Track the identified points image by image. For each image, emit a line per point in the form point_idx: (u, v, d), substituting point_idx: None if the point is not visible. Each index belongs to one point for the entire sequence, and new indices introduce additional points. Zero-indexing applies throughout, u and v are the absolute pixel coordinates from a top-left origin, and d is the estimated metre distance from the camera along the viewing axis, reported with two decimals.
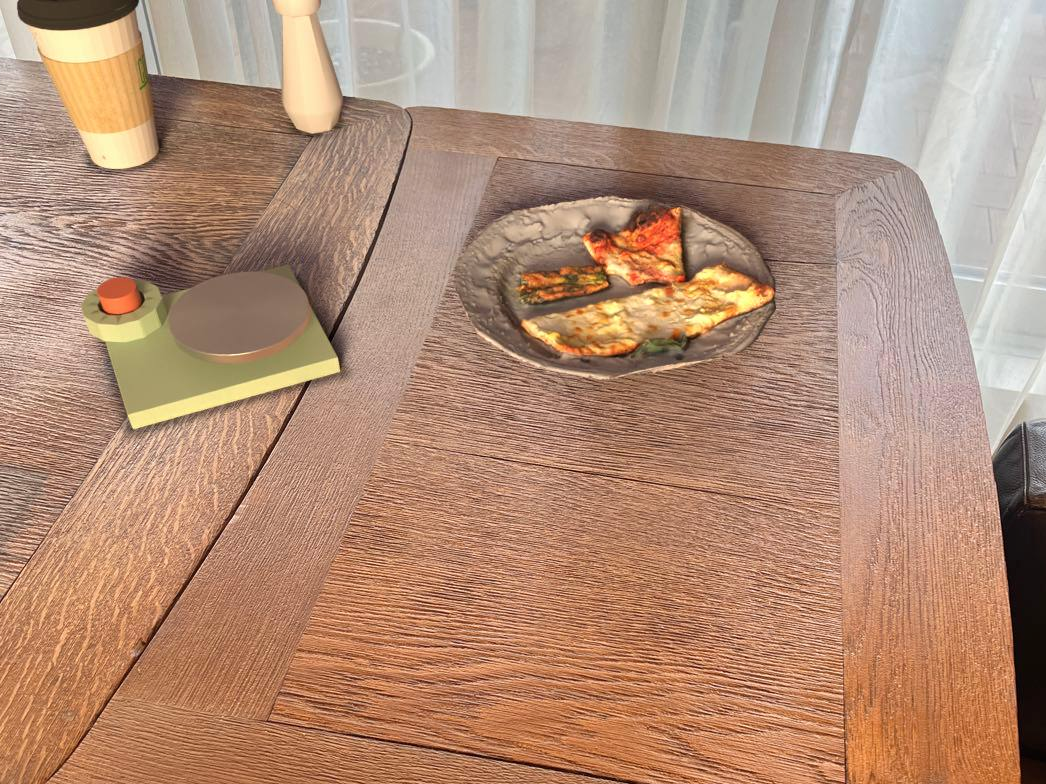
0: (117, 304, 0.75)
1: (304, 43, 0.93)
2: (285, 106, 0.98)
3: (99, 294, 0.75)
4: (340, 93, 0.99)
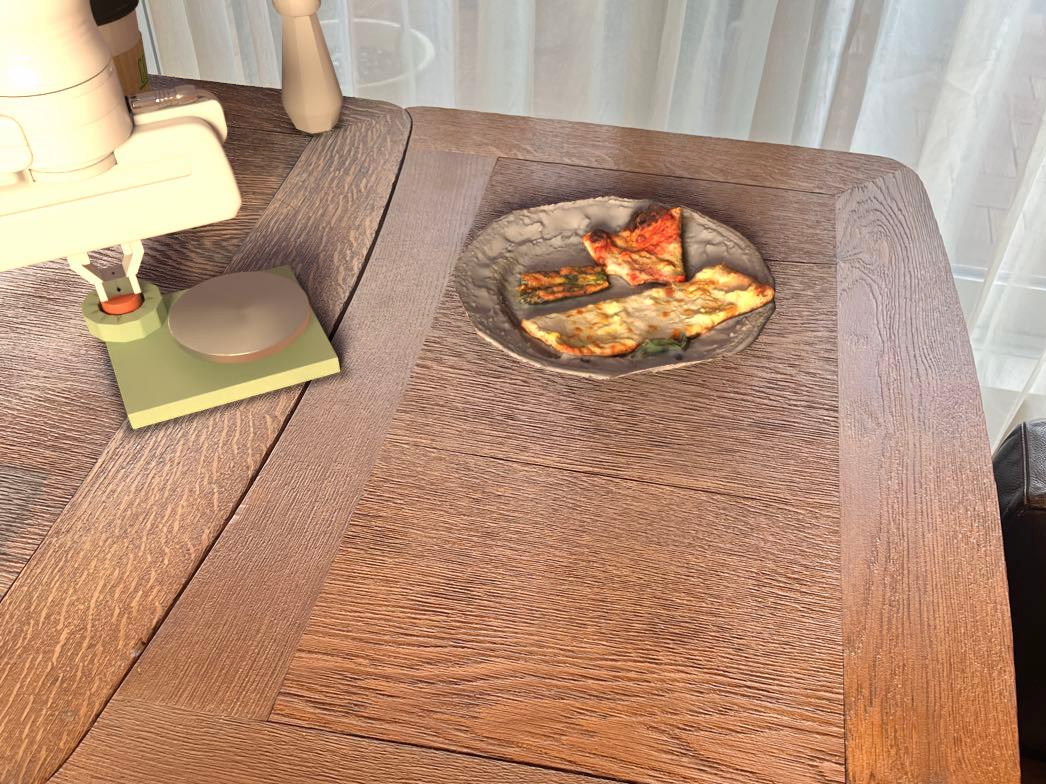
0: (119, 310, 0.75)
1: (304, 43, 0.93)
2: (285, 106, 0.98)
3: None
4: (340, 93, 0.99)
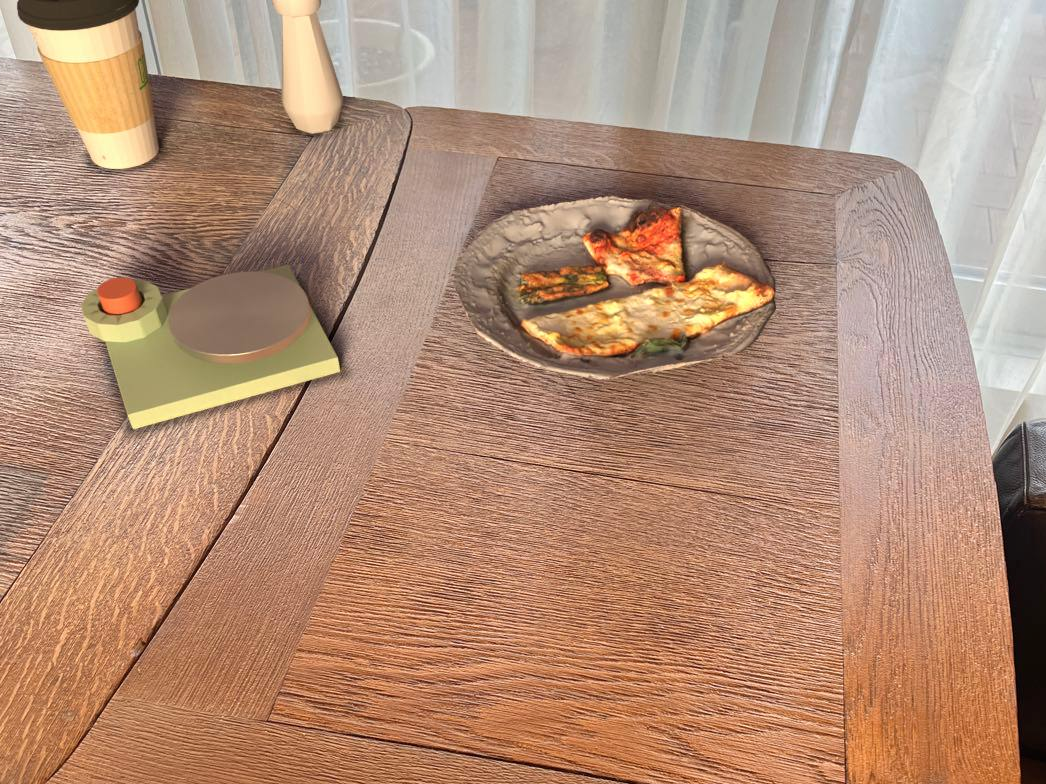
0: (117, 304, 0.75)
1: (304, 43, 0.93)
2: (285, 106, 0.98)
3: (99, 294, 0.75)
4: (340, 93, 0.99)
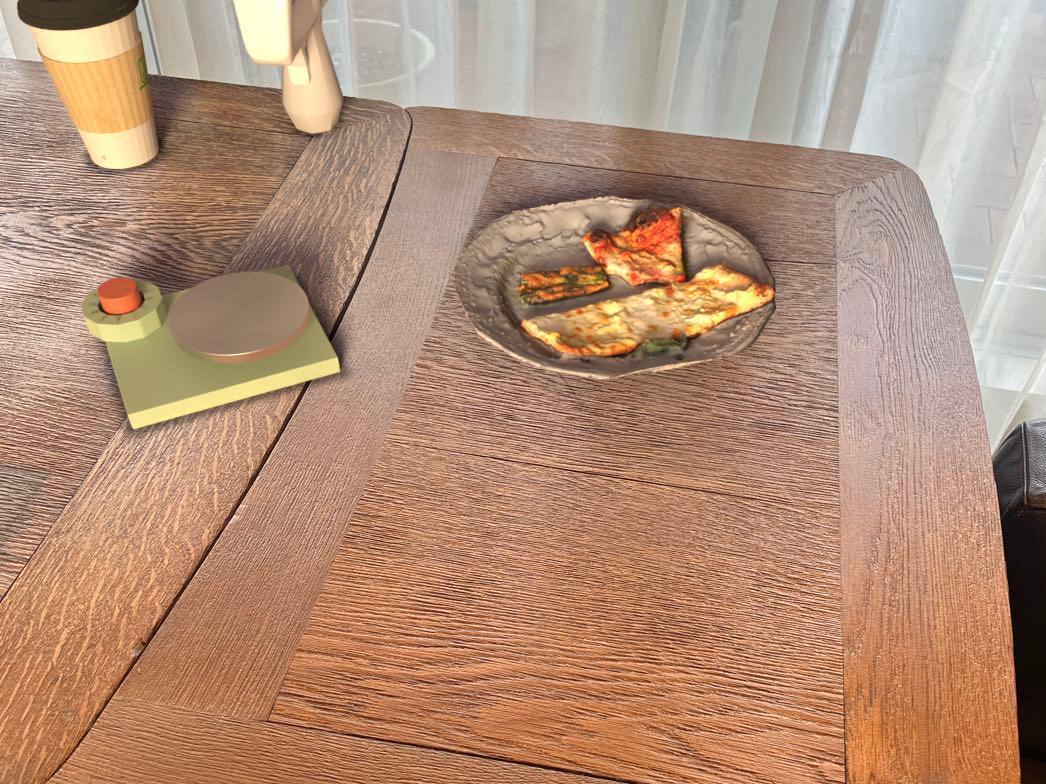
0: (117, 304, 0.75)
1: None
2: (285, 106, 0.98)
3: (99, 294, 0.75)
4: (340, 93, 0.99)
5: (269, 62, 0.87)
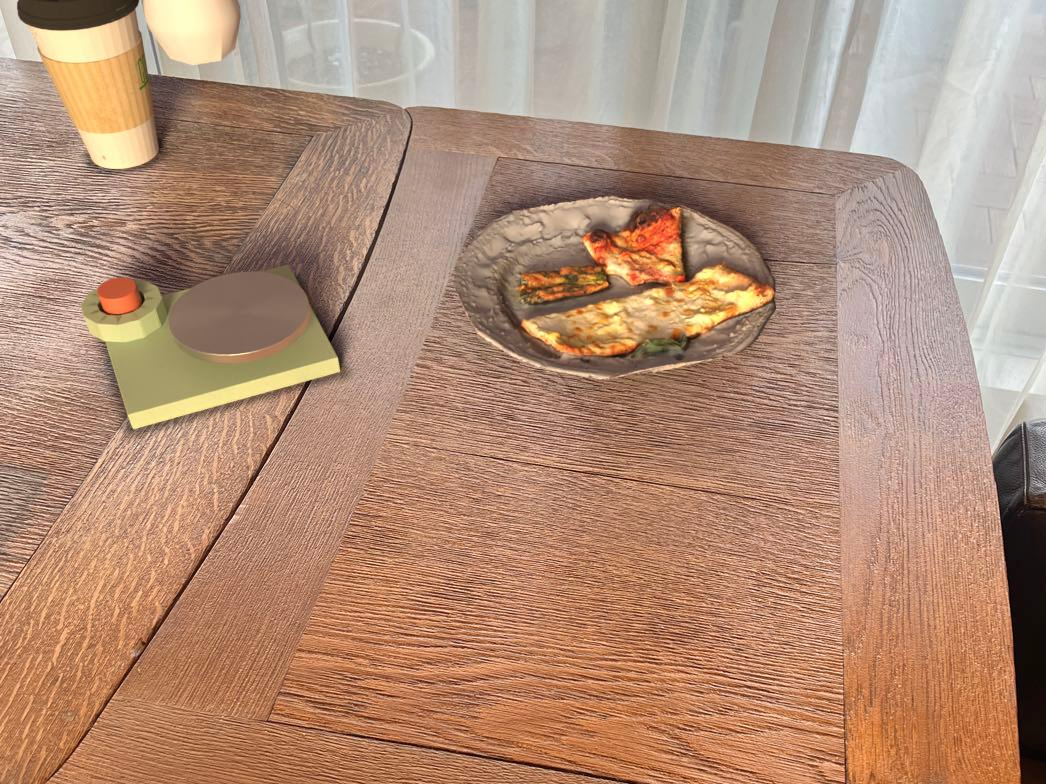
0: (117, 304, 0.75)
1: None
2: (147, 21, 0.63)
3: (99, 294, 0.75)
4: (235, 1, 0.63)
5: None
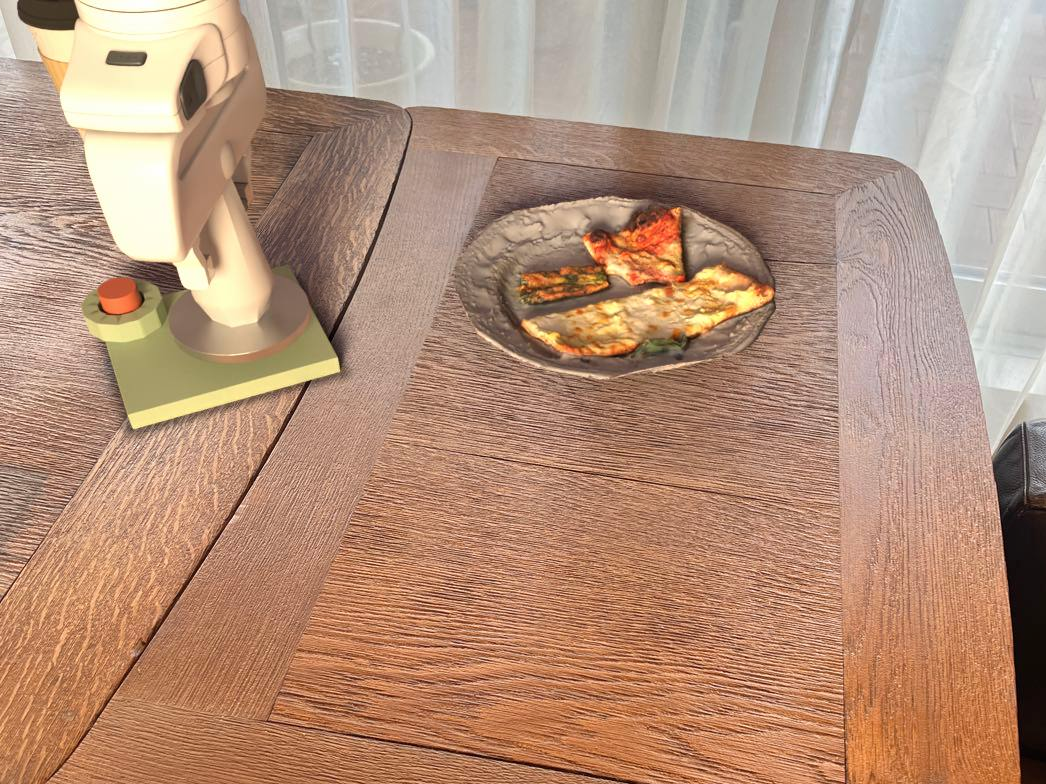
0: (117, 304, 0.75)
1: (214, 220, 0.67)
2: (193, 295, 0.71)
3: (99, 294, 0.75)
4: (270, 274, 0.72)
5: (151, 260, 0.60)
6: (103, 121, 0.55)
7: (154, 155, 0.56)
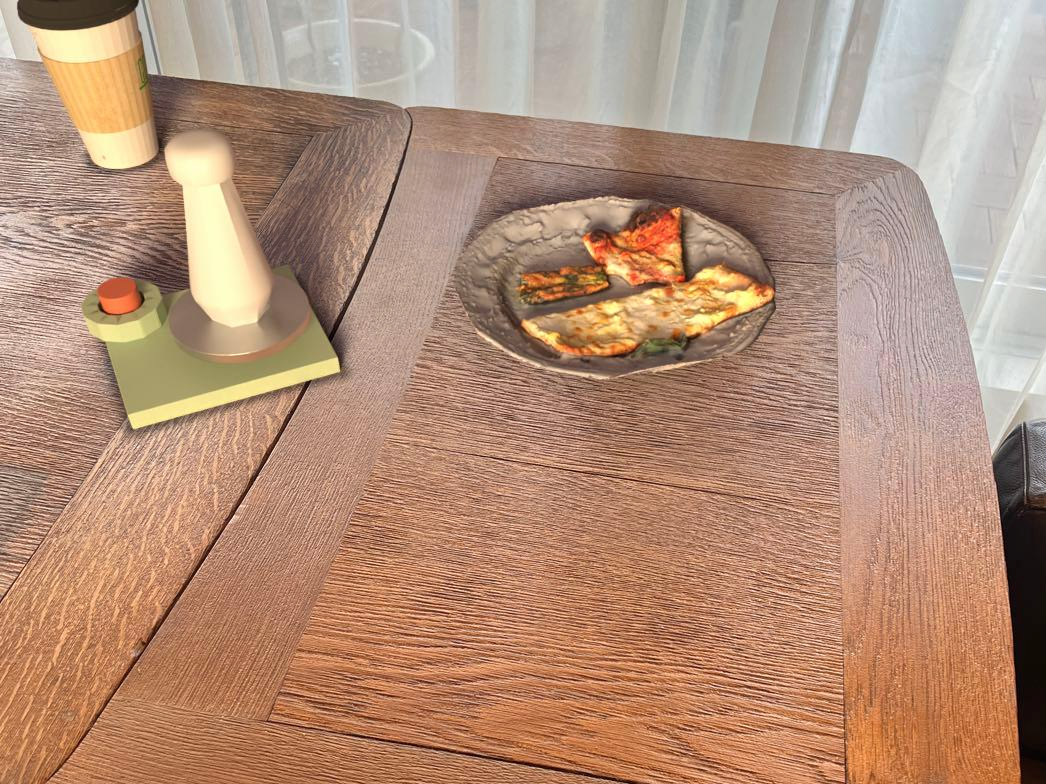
0: (117, 304, 0.75)
1: (214, 220, 0.67)
2: (193, 295, 0.71)
3: (99, 294, 0.75)
4: (270, 274, 0.72)
5: None
6: None
7: None
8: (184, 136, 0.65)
